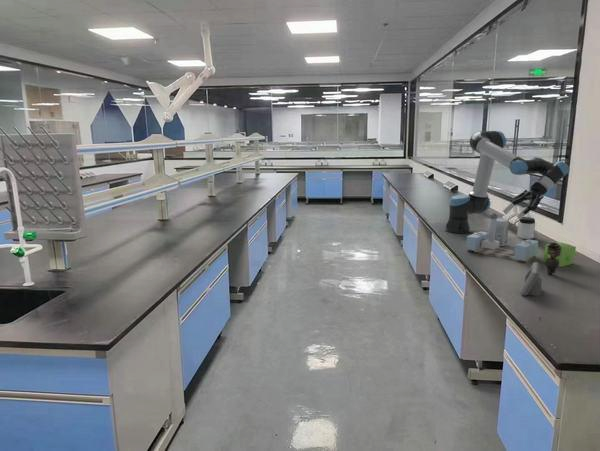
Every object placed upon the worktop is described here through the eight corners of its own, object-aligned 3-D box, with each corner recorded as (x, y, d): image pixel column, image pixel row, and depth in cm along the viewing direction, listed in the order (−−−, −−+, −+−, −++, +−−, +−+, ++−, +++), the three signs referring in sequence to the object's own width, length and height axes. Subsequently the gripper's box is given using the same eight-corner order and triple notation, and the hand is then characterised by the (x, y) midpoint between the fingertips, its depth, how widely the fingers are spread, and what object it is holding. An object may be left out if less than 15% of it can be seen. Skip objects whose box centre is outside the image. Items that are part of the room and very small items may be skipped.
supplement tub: (497, 241, 240) (499, 217, 237) (510, 245, 232) (513, 220, 228) (484, 243, 237) (486, 218, 234) (497, 247, 228) (499, 221, 225)
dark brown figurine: (545, 271, 189) (549, 240, 185) (558, 274, 185) (563, 242, 182) (542, 274, 184) (546, 243, 181) (556, 277, 181) (561, 245, 178)
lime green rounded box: (556, 270, 191) (559, 251, 189) (536, 263, 200) (539, 245, 197) (580, 264, 199) (583, 246, 196) (560, 258, 207) (563, 240, 205)
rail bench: (467, 250, 223) (468, 246, 223) (477, 246, 231) (478, 242, 230) (526, 262, 201) (526, 258, 201) (535, 257, 209) (535, 253, 209)
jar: (527, 239, 243) (530, 220, 241) (514, 237, 250) (516, 218, 247) (535, 237, 248) (538, 218, 245) (522, 235, 255) (524, 216, 252)
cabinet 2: (514, 258, 203) (515, 243, 201) (526, 252, 214) (528, 237, 212) (524, 260, 200) (526, 245, 198) (536, 254, 210) (538, 239, 209)
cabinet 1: (466, 248, 221) (467, 234, 220) (479, 243, 232) (480, 229, 230) (475, 250, 218) (476, 236, 216) (488, 244, 228) (489, 231, 227)
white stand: (481, 247, 220) (484, 212, 216) (486, 244, 224) (489, 211, 220) (494, 249, 215) (497, 214, 211) (499, 247, 219) (502, 213, 215)
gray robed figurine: (523, 283, 175) (526, 259, 173) (547, 288, 169) (550, 263, 167) (512, 294, 163) (515, 269, 161) (537, 300, 157) (540, 274, 155)
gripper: (562, 194, 202) (529, 224, 204) (531, 188, 226) (502, 215, 229) (553, 184, 200) (520, 214, 203) (523, 178, 225) (494, 205, 227)
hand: (510, 215), depth 216 cm, fingers open, 13 cm apart
